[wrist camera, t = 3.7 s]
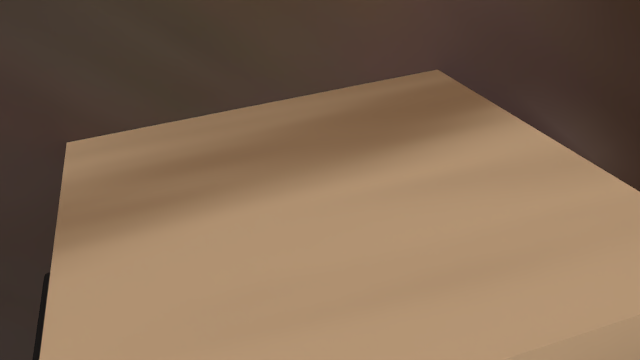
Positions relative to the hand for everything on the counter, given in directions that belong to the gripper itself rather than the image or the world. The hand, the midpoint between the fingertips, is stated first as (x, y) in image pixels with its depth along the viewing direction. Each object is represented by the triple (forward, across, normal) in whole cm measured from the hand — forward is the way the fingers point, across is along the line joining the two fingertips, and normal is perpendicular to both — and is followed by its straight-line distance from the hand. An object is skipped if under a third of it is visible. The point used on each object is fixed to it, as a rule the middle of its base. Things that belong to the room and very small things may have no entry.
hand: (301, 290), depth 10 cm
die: (+1, 0, 0) cm, 1 cm away
